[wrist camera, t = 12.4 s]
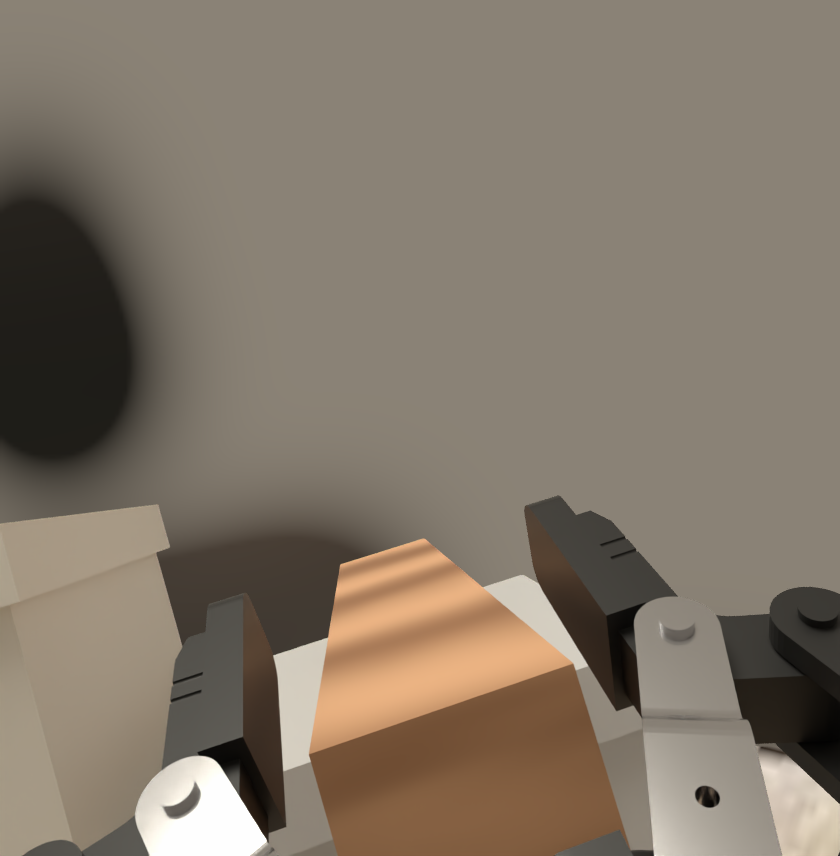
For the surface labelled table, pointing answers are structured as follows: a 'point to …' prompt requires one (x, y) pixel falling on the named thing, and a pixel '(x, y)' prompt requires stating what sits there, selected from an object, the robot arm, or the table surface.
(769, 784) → the table surface
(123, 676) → the stand
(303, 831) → the block
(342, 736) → the board
